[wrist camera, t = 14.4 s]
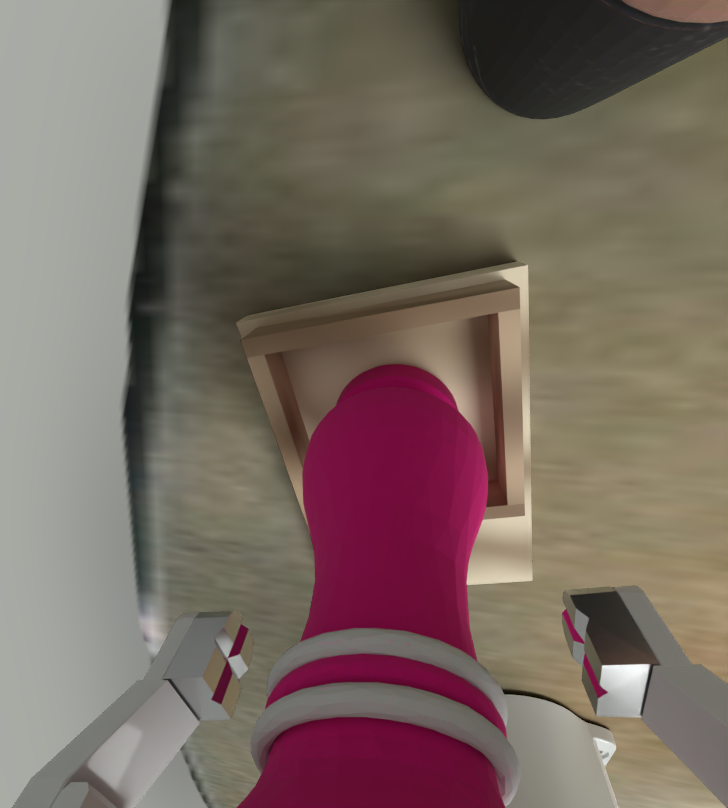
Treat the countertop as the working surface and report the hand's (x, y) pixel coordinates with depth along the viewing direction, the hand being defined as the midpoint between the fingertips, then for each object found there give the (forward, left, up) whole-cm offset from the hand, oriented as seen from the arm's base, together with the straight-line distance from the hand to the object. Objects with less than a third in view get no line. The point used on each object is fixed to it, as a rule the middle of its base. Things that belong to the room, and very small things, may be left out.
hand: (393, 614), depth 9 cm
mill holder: (-3, 0, -12) cm, 13 cm away
